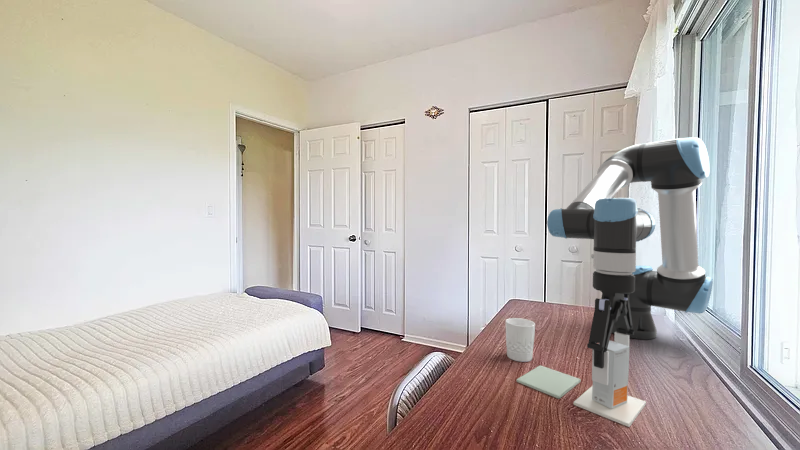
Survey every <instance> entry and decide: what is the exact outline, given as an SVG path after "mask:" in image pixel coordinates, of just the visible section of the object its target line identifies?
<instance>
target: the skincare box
mask: <svg viewBox="0 0 800 450" xmlns="http://www.w3.org/2000/svg"><path fill="white" fill-rule="evenodd" d="M607 351H609V374H608V385H604V384H601V383H598V382H595V381H592V385H593V387H592V400H594V401H596V402H598V403H600V404H602V405H604V406H606V407H608V408H610V409H612V408H614V407H617V406H619V405H621V404H624V403H627V398H628V396H629V369H630V345H629V346H626V345H623V344H620V343H617V342H614V340H609V344H608V348H607Z"/></svg>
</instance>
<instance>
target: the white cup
mask: <svg viewBox="0 0 800 450" xmlns="http://www.w3.org/2000/svg"><path fill="white" fill-rule="evenodd" d="M535 330H536V323H535V322H534V321H533V320H530V319H526V318H521V317H510V318H506V319H505V342H506V343H505V345H506V355H507V358H509V359H510V360H512V361H516V362H522V363H526V362H527V363H528V362H531V361H532V360H533V350H534V345H535V344H534V343H535V335H536V334H535V333H536V331H535Z"/></svg>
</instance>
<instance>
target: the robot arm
mask: <svg viewBox="0 0 800 450" xmlns="http://www.w3.org/2000/svg"><path fill="white" fill-rule="evenodd" d="M710 170H711V169H710V158H709V154H708V150H707V146H706V145H705V143H704V141H703V140H702V139H701V138H699V137H695V136H694V137H678V138H672V139H667V140H666V139H665V140H659V141H653V142H646V143H637V144H634V145H631V146H628V147H625V148H623V149H621V150H619V151H617V152H616V153H614V154H612V155H611V156H610V157H608V158H606V160H604V161H603V162H602V163H601V165H599V166H598V169H597V174H596V175H595V176H594V177H593V178H592V180H591V181H590V182H589V183H588V184H587V185H586V186H585V187H584V189H583V190H581V192H580V193H579V194H578V195H577V196H576V197H575V198H574V200H573V201H572V202H570V204H569V205H568V206H567V207H566V208H557V209H553V210H551V211H550V212H549V214H548V216H547V220H546V221H547V224H546V225H547V226H546V227H547V229H548V232H549V233H550V235H551V236H552V237H555V238H564V239H579V240H580V239H581V240H585V239H586V240H593V253H592V254H591V255H590V259H592V260H593V266H592V268H593V269H594V270H595V271H593V272H592V288H593V289H595V290H596V291H600V292H601V298H598V297H597V298H595V300H594V310H593V311H594V312H593V316H592V321H591V326H590V332H589V338H588V342H587V344H586V345H587V346H586V347H587V348H588V349H591V350H592V356H591V357H592V358H591V361H592V363H591V381H592V382H593V381H595V382H598V383H601V384H604V385H608V374H609V351H607V348H608V344H609V341H611V335H612V334H614V336H613V337H614V339H613V341H614V342H617V343H620V344H623V345H626V346H629V347H630V338H631V339H636V340H653V339H656V338H657V336H658V335H657V334H658V333H657V332H658V331H657V327H656V324H655V322H654V319H653V315H652V307H654V308H655V307H656V308H661V309H667V310H673V311H679V312H684V313H690V314H691V313H692V314H698V315H699V314H703V313H705V312H706V310H707V308H708V306H709V303H710V299H711V296H712V295H711V294H712V290H713V284H714V283H713V282H714V280H713V277H710V276H708V275H707V276H706V270H705V269H704V268H703V267H701V266H700V265H699V256H698V254H699V253H698V252H699V250H698V229H697V228H698V227H697V201H696V198H697V197H696V195H697V194H696V190H697V189H699V188H700V186H701V185H702V184H703V180H704V179H706V178H708V177H710V176H709V175H710ZM641 182H642V183H643V182H644V183H645V182H647V183H648V182H650V185H651V190H653V191H655V192H656V193H657V198H658V199H657V200H658V211H659V212H658V215H659V230H660V231H659V233H660V247H661V261H662V263H661V265H659V266H658V267H657V268H656V270H653V269H654V268H653V267H652V266H650V265H637V252H636V251H637V242H640V241H643V240H645V239H647V238H649V237H651V235H653V233H654V231H655V229H656V221H655V218H654V216H653V215H652V214H651V213H650V212H648V211H647V210H644V209H641V208H638V207H637V206H638V204H637V200H636V199H635V198H633V197H616V195H617V194H618V192H619V191H621V189H623V188H625V187H626V186H628V185H630V184H633V183H641Z"/></svg>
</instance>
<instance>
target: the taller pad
mask: <svg viewBox="0 0 800 450" xmlns="http://www.w3.org/2000/svg"><path fill="white" fill-rule="evenodd" d="M592 387H593V384H592V385H591V386H590V387H589V388H588V389H587V390H586V391H584V392H583V393H582V394H581V395H579V397H578V398H576V399H575V400H574V401H573V405H574V406H576V407H578V408H581V409H584V410H586V411H588V412H591V413H594V414H595V415H598V416H601V417H603V418H606V419H608V420H610V421H613V422H616V423H619V424H620V425H623V426H626V427H628V428H630V427H631V426H632V424H633V423H634V422H635V420H636V419H637V417H638V416H639V415H640V413H641V412H642V410H643V409H644V408H645V407H646V405H647V402H646V401H645V400H643V399H640V398H637V397H634V396H631V395H628V398H627V403H624V404H621V405H619V406H617V407H614V408H612V409H610V408H608V407H606V406H604V405H602V404H600V403H598V402H596V401H594V400H592Z"/></svg>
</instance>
